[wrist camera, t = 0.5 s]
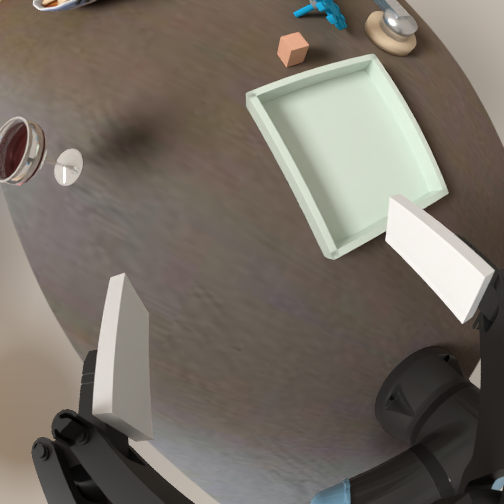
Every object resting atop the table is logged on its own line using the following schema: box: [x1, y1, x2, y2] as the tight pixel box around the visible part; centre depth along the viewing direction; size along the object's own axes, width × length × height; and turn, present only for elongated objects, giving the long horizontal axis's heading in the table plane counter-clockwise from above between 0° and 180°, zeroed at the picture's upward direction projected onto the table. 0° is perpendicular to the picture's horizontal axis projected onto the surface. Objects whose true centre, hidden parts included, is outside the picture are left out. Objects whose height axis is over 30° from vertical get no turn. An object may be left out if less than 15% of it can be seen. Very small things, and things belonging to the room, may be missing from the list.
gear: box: [294, 0, 347, 30], centre depth 26 cm, size 11×6×10 cm
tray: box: [246, 54, 449, 260], centre depth 29 cm, size 20×18×4 cm
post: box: [277, 32, 309, 67], centre depth 27 cm, size 2×2×4 cm
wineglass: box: [0, 117, 83, 186], centre depth 24 cm, size 7×7×12 cm
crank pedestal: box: [364, 11, 416, 57], centre depth 28 cm, size 8×8×2 cm
